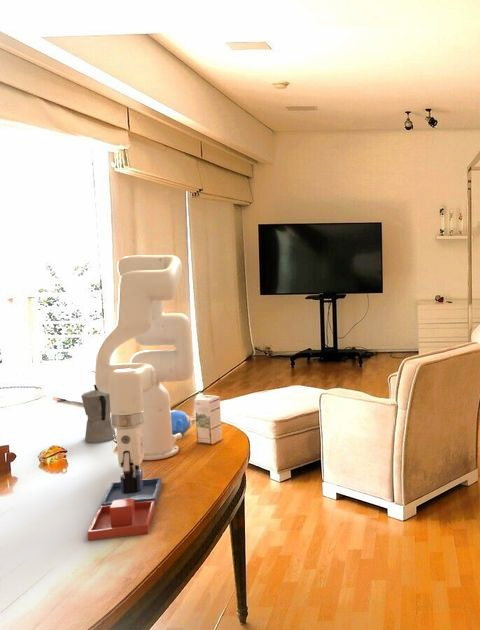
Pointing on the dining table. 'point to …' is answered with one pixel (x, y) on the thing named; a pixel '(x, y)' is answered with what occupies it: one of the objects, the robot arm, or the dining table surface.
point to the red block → (122, 512)
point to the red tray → (140, 525)
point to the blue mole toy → (180, 422)
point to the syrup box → (208, 419)
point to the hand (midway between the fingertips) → (132, 488)
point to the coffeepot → (98, 416)
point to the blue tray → (147, 493)
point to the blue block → (139, 480)
